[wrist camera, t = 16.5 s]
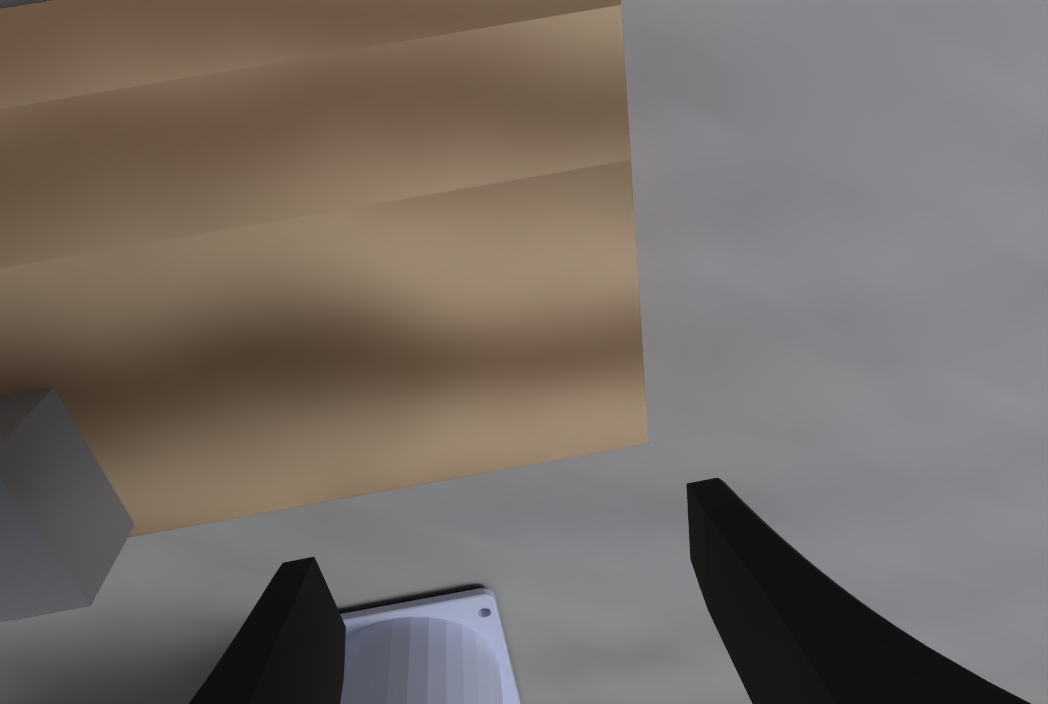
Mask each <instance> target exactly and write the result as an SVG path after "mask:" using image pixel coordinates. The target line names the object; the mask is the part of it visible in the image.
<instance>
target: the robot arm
mask: <svg viewBox="0 0 1048 704" xmlns="http://www.w3.org/2000/svg"><path fill="white" fill-rule="evenodd" d="M687 502H688V521H689V541H690V559H691V562H692V565H693V568H694V571H695V574H696V577H697V580H698V583H699V586H700V589H701V591H702V594H703V597H704V600H705V603H706V606H707V608H708V611H709V613H710V615H711V617H712V619H713V622H714V624H715V626H716V628H717V630H718V632H719V634H720V636H721V639H722V641H723V643H724V645H725V647H726V649H727V651H728V653H729V655H730V657H731V660H732V662H733V664H734V666H735V668H736V670H737V672H738V674H739V676H740V678H741V681H742V683H743V685H744V687H745V689H746V691H747V693H748V695H749V697H750V699H751V701H752V704H1031V703H1029V702H1027V701H1025V700H1023V699H1021V698H1019V697H1017V696H1015V695H1013V694H1011V693H1009V692H1007V691H1005V690H1003V689H1001V688H999V687H998V686H996V685H994V684H992V683H990V682H988V681H986V680H984V679H983V678H981V677H979V676H978V675H976V674H974V673H972V672H971V671H969V670H967V669H965V668H964V667H962V666H960V665H958V664H957V663H955V662H953V661H951V660H950V659H948V658H946V657H945V656H943V655H941V654H939V653H938V652H936V651H934V650H932V649H931V648H929V647H927V646H926V645H924V644H923V643H921V642H920V641H918V640H916V639H915V638H913V637H912V636H910V635H909V634H907V633H906V632H904V631H902V630H901V629H899V628H898V627H896V626H895V625H893V624H892V623H890V622H889V621H888V620H886V619H885V618H883V617H882V616H880V615H879V614H877V613H876V612H874V611H873V610H871V609H870V608H869V607H867V606H866V605H865V604H863V603H862V602H860V601H859V600H858V599H856V598H855V597H854V596H852V595H851V594H850V593H848V592H847V591H846V590H844V589H843V588H842V587H840V586H839V585H838V584H837V583H835V582H834V581H833V580H832V579H830V578H829V577H828V576H826V575H825V574H824V573H823V572H821V571H820V570H819V569H818V568H817V567H815V566H814V565H813V564H812V563H810V562H809V561H808V560H807V559H806V558H805V557H803V556H802V555H801V554H800V553H799V552H798V551H796V550H795V549H794V548H793V547H792V546H791V545H790V544H788V543H787V542H786V541H785V540H784V539H783V538H782V537H780V536H779V535H778V534H777V533H776V532H775V531H774V530H773V529H772V528H771V527H769V526H768V525H767V524H766V523H765V522H764V521H763V520H762V519H761V518H760V517H759V516H758V515H757V514H756V513H755V512H754V511H753V510H752V509H750V508H749V507H748V506H747V505H746V504H745V503H744V502H743V501H742V500H741V499H740V498H739V497H738V496H737V495H736V494H735V493H734V492H733V491H732V490H731V488H730V487H729V486H728V485H727V484H726V483H725V482H724V481H722V480H721V479H719V478H713V479H708V480H703V481H698V482H693V483H688V484H687ZM483 608H486V609H483ZM189 704H521V703H520V699H519V694H518V690H517V686H516V682H515V678H514V674H513V670H512V666H511V661H510V657H509V653H508V649H507V645H506V641H505V637H504V633H503V629H502V624H501V620H500V616H499V612H498V608H497V604H496V600H495V596H494V593H493V592H492V591H491V590H489V589H485V588H479V589H474V590H468V591H463V592H458V593H452V594H447V595H441V596H436V597H430V598H425V599H419V600H414V601H409V602H403V603H398V604H392V605H387V606H381V607H376V608H370V609H365V610H360V611H354V612H349V613H343V614H340V613H339V610H338V608H337V606H336V604H335V602H334V599H333V597H332V595H331V593H330V590H329V588H328V586H327V584H326V582H325V579H324V577H323V575H322V573H321V570H320V568H319V566H318V564H317V562H316V559H315V557H310V558H305V559H300V560H295V561H290V562H285V563H282V565H281V566H280V568H279V569H278V571H277V572H276V574H275V575H274V577H273V578H272V580H271V581H270V583H269V585H268V586H267V588H266V589H265V591H264V592H263V594H262V596H261V597H260V599H259V600H258V602H257V604H256V605H255V607H254V608H253V610H252V612H251V613H250V615H249V616H248V618H247V619H246V621H245V623H244V624H243V626H242V627H241V629H240V630H239V632H238V633H237V635H236V636H235V638H234V639H233V641H232V642H231V644H230V645H229V647H228V648H227V650H226V651H225V653H224V654H223V656H222V657H221V659H220V660H219V662H218V663H217V665H216V666H215V668H214V669H213V671H212V672H211V674H210V675H209V677H208V678H207V679H206V681H205V682H204V684H203V685H202V686H201V688H200V689H199V690H198V692H197V693H196V695H195V696H194V697H193V699H192V700H191V702H190V703H189Z"/></svg>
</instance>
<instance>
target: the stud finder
mask: <svg viewBox="0 0 1048 704" xmlns="http://www.w3.org/2000/svg"><path fill="white" fill-rule="evenodd" d="M134 525H135V524H134V522H133V521H132V519H131V517H130V516H129V514H128V512H127V511H126V509H125V507H124V506H123V504H122V502H121V500H120V499H119V497H118V495H117V494H116V492H115V490H114V489H113V487H112V485H111V484H110V482H109V480H108V479H107V477H106V475H105V473H104V472H103V470H102V468H101V467H100V465H99V463H98V462H97V460H96V458H95V457H94V455H93V453H92V452H91V450H90V448H89V446H88V445H87V443H86V441H85V440H84V438H83V436H82V435H81V433H80V431H79V430H78V428H77V426H76V425H75V423H74V421H73V419H72V418H71V416H70V414H69V413H68V411H67V409H66V408H65V406H64V404H63V403H62V401H61V399H60V398H59V396H58V394H57V392H56V391H55V389H54V387H51V388H46V389H40V390H34V391H29V392H23V393H17V394H12V395H6V396H0V622H5V621H10V620H16V619H21V618H27V617H32V616H38V615H43V614H48V613H54V612H59V611H65V610H70V609H76V608H81V607H87V606H91V604H92V602H93V600H94V598H95V596H96V595H97V593H98V591H99V589H100V587H101V585H102V584H103V582H104V580H105V578H106V576H107V574H108V573H109V571H110V569H111V567H112V565H113V563H114V562H115V560H116V558H117V556H118V554H119V552H120V551H121V549H122V547H123V545H124V543H125V541H126V540H127V538H128V536H129V534H130V532H131V531H132V529H133V527H134Z"/></svg>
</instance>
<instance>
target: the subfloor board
mask: <svg viewBox="0 0 1048 704" xmlns="http://www.w3.org/2000/svg"><path fill="white" fill-rule="evenodd" d="M51 387H54V389H55V391H56V392H57V394H58V396H59V398H60V399H61V401H62V403H63V404H64V406H65V408H66V409H67V411H68V413H69V414H70V416H71V418H72V419H73V421H74V423H75V425H76V426H77V428H78V430H79V431H80V433H81V435H82V436H83V438H84V440H85V441H86V443H87V445H88V446H89V448H90V450H91V452H92V453H93V455H94V457H95V458H96V460H97V462H98V463H99V465H100V467H101V468H102V470H103V472H104V473H105V475H106V477H107V479H108V480H109V482H110V484H111V485H112V487H113V489H114V490H115V492H116V494H117V495H118V497H119V499H120V500H121V502H122V504H123V506H124V507H125V509H126V511H127V512H128V514H129V516H130V517H131V519H132V521H133V522H134V524H135V525H134V527H133V529H132V531H131V532H130V534H129V536H128V537H134V536H139V535H145V534H150V533H156V532H162V531H167V530H173V529H178V528H184V527H189V526H195V525H200V524H206V523H211V522H217V521H222V520H228V519H234V518H239V517H245V516H250V515H256V514H261V513H267V512H272V511H278V510H283V509H289V508H295V507H300V506H306V505H311V504H317V503H322V502H328V501H333V500H339V499H344V498H350V497H355V496H361V495H367V494H372V493H378V492H383V491H389V490H394V489H400V488H405V487H411V486H416V485H422V484H428V483H433V482H439V481H444V480H450V479H455V478H461V477H466V476H472V475H477V474H483V473H488V472H494V471H500V470H505V469H511V468H516V467H522V466H527V465H533V464H538V463H544V462H549V461H555V460H561V459H566V458H572V457H577V456H583V455H588V454H594V453H599V452H605V451H610V450H616V449H621V448H627V447H633V446H638V445H644V444H649V443H648V427H647V411H646V395H645V379H644V363H643V347H642V331H641V315H640V299H639V283H638V267H637V251H636V235H635V219H634V203H633V187H632V171H631V155H630V139H629V123H628V107H627V91H626V75H625V59H624V43H623V27H622V11H621V0H50V1H44V2H38V3H32V4H26V5H20V6H14V7H8V8H2V9H0V396H6V395H12V394H17V393H23V392H29V391H34V390H40V389H46V388H51Z"/></svg>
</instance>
